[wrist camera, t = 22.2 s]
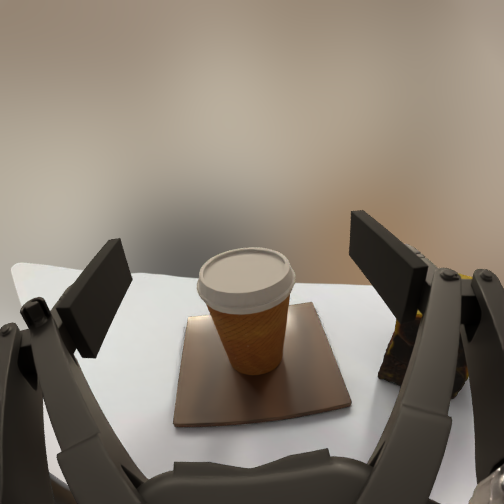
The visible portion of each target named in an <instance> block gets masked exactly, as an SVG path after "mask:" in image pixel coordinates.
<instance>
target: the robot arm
mask: <svg viewBox="0 0 504 504" xmlns="http://www.w3.org/2000/svg"><path fill="white" fill-rule="evenodd" d="M349 255H350V257H351V258H352V259H353V261H354V262H355V263H356V264H357V265H358V267H359V268H360V269H361V271H362V272H363V274H364V275H365V276H366V278H367V279H368V280H369V281H370V283H371V284H372V286H373V287H374V288H375V290H376V291H377V292H378V294H379V295H380V296H381V298H382V299H383V301H384V302H385V303H386V305H387V306H388V307H389V309H390V310H391V312H392V313H393V315H394V316H395V317H396V319H397V320H398V322H399V323H400V325H401V324H405V323H409V322H413V321H415V318H416V315H417V311H418V310H419V311H420V313H421V314H422V318H421V322H420V325H419V328H418V331H417V334H416V335H417V337H416V341H415V345H414V348H413V352H412V355H411V358H410V362H409V365H408V368H407V371H406V374H405V377H404V380H403V383H402V386H401V389H400V391H399V394H398V397H397V399H396V402H395V405H394V407H393V410H392V412H391V415H390V417H389V420H388V422H387V424H386V427H385V429H384V431H383V433H382V436H381V438H380V440H379V442H378V444H377V446H376V448H375V450H374V452H373V454H372V456H371V457H370V459H369V461H368V463H367V464H366V463H363V462H361V461H358V460H355V459H350V458H345V457H336V456H330V454H329V450H328V448H326V449H322V450H317V451H312V452H306V453H301V454H295V455H290V456H287V457H284V458H282V459H279V460H276V461H273V462H270V463H267V464H265V465H262V466H258V467H255V468H241V467H235V466H229V465H223V464H217V463H212V462H174V470H173V471H169V472H165V473H162V474H159V475H157V476H155V477H153V478H151V479H149V480H148V479H147V478H146V477H145V476H144V475H143V473H142V472H141V471H140V470H139V469H138V467H137V466H136V464H135V463H134V462H133V460H132V459H131V457H130V456H129V454H128V453H127V451H126V450H125V448H124V447H123V445H122V444H121V442H120V440H119V439H118V437H117V436H116V434H115V432H114V431H113V429H112V427H111V426H110V424H109V422H108V421H107V419H106V417H105V415H104V414H103V412H102V410H101V408H100V406H99V404H98V403H97V401H96V399H95V397H94V395H93V393H92V391H91V389H90V387H89V385H88V383H87V381H86V379H85V377H84V374H83V372H82V370H81V368H80V366H79V363H78V361H77V359H76V358H75V356H74V352H75V350H76V348H77V350H78V351H79V353H80V355H81V357H82V358H96V357H97V354H98V352H99V350H100V347H101V345H102V343H103V341H104V338H105V336H106V334H107V332H108V329H109V327H110V325H111V323H112V321H113V319H114V316H115V314H116V312H117V310H118V308H119V306H120V304H121V302H122V300H123V298H124V296H125V294H126V292H127V290H128V288H129V286H130V284H131V282H132V280H133V279H132V276H131V273H130V270H129V267H128V263H127V260H126V257H125V253H124V250H123V246H122V243H121V239H120V238H118V239H111V240H108V242H107V243H106V244H105V245H104V246H103V247H102V249H101V250H100V251H99V252H98V253H97V255H96V256H95V257H94V258H93V259H92V261H91V262H90V263H89V264H88V266H87V267H86V268H85V269H84V271H83V272H82V273H81V274H80V276H79V277H78V278H77V280H76V281H75V282H74V283H73V284H72V285H71V286H69V287H68V288H67V289H66V290H65V292H64V293H63V294H62V295H63V296H61V297H60V299H59V301H57V303H56V304H55V305H54V307H53V308H52V310H51V311H50V310H49V308H48V306H47V304H46V302H45V300H44V298H42V297H37V298H34V299H31V300H30V301H28V302H26V303H25V304H24V305H23V306H22V308H21V310H20V313H21V315H22V317H23V319H24V321H25V322H26V324H27V326H28V328H29V329H26V330H22V331H20V330H19V328H18V326H17V325H16V323H8V324H6V325H4V326H3V327H1V329H0V504H55V503H54V498H53V493H52V488H51V482H50V476H49V470H48V463H47V455H46V446H45V435H44V420H43V399H44V402H45V405H46V409H47V412H48V415H49V418H50V421H51V424H52V427H53V430H54V432H55V435H56V438H57V440H58V443H59V446H60V448H61V452H60V453H58V454H57V460H58V464H59V466H60V468H61V471H62V473H63V475H64V477H65V479H66V482H67V484H68V486H69V488H70V490H71V492H72V494H73V496H74V498H75V500H76V502H77V504H440V503H438V502H436V501H434V500H431V499H429V496H430V493H431V491H432V488H433V485H434V483H435V480H436V477H437V474H438V471H439V468H440V465H441V462H442V459H443V456H444V452H445V449H446V445H447V442H448V438H449V434H450V430H451V425H452V417H449V416H448V410H449V406H450V401H451V396H452V390H453V385H454V379H455V372H456V365H457V357H458V348H459V337H460V333H461V337H462V342H463V347H464V352H465V357H466V362H467V368H468V374H469V381H470V388H471V396H472V405H473V416H474V431H475V466H476V477H477V484H478V485H477V486H476V488H475V490H474V493H473V496H472V497H471V499H470V500H469V504H504V288H503V287H502V285H501V283H500V281H499V279H498V277H497V276H496V275H495V274H494V273H492V272H491V271H488V270H487V269H477V270H475V272H474V274H473V277H472V279H461V276H460V275H459V274H458V273H457V272H455V271H454V270H451V269H448V268H437V267H436V266H435V265H434V264H433V263H432V262H431V261H430V260H429V259H427V258H425V256H424V255H423V254H421V253H420V252H419V251H418V250H417V249H416V248H414V247H412V246H410V245H408V244H404V243H402V242H401V241H400V240H399V239H398V238H396V237H395V236H394V235H393V234H392V233H391V232H389V231H388V230H387V229H386V228H384V227H383V226H382V225H381V224H380V223H378V222H377V221H376V220H375V219H374V218H372V217H371V216H370V215H368V214H367V213H366V212H365V211H363V210H362V211H361V210H360V211H351V228H350V247H349Z"/></svg>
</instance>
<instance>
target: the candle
mask: <svg viewBox="0 0 504 504" xmlns="http://www.w3.org/2000/svg"><path fill="white" fill-rule="evenodd" d="M459 275H460V276H461V279H472V277H470V276H466V275H462V274H459ZM421 318H422V314H421V313H420V311H419V310H418V311H417V315H416V318H415V321H413V322H409V323H405V324H401V325H400V323H399V322H398V320H397V319H396V325H395V331H394V333H393V335H392V338H391V340H390V343H389V344H388V348H387V349H386V353H385V355H384V359H383V363H382V365H381V367H380V370H379V372H378V377H379V379H385V380H387V381H389V382H394V383H396V384H397V385H401V386H402V383H403V380H404V377H405V374H406V371H407V368H408V365H409V362H410V358H411V355H412V352H413V348H414V345H415V341H416V337H417V335H416V334H417V331H418V328H419V325H420V322H421ZM468 377H469V374H468V368H467V362H466V357H465V352H464V347H463V342H462V337H461V333H460V337H459V348H458V357H457V365H456V372H455V379H454V385H453V390H452V396H451V399H454V398H455V397H456V396H457V394H458V392H459V391H460V390H461V389H462V387H463V386H464V384H465V381H467V379H468Z"/></svg>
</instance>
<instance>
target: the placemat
mask: <svg viewBox="0 0 504 504" xmlns="http://www.w3.org/2000/svg"><path fill="white" fill-rule="evenodd" d="M215 327H216V326H215V325H214V322H213V320H212V317H211V315H205V316H194V317H188V321H187V327H186V334H185V340H184V346H183V353H182V359H181V366H180V373H179V380H178V387H177V395H176V403H175V411H174V419H173V424H174V426H175V427H211V426H229V425H241V424H252V423H261V422H269V421H277V420H284V419H290V418H296V417H302V416H308V415H313V414H318V413H323V412H328V411H332V410H337V409H341V408H345V407H349V406H351V403H352V402H351V399H350V396H349V394H348V391H347V388H346V386H345V383H344V380H343V378H342V375H341V373H340V370H339V367H338V365H337V362H336V360H335V357H334V355H333V352H332V350H331V347H330V345H329V342H328V340H327V337H326V335H325V332H324V330H323V327H322V325H321V322H320V320H319V317H318V315H317V313H316V310H315V308H314V305H313V303H312V302H309V303H302V304H295V305H289V307H288V316H287V324H286V332H285V340H284V347H283V355H282V360H281V362H280V363H279V365H278V366H277V367H276V368H275V369H273V370H272V371H270V372H268V373H265V374H260V375H247V374H243V373H240V372H238V371H237V370H235V369H234V368H233V367H232V365H231V363H230V361H229V359H228V356H227V354H226V352H225V349H224V346H223V344H222V342H221V340H220V337H219V334H218V332H217V330H216V328H215Z"/></svg>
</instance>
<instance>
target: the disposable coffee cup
mask: <svg viewBox="0 0 504 504" xmlns="http://www.w3.org/2000/svg"><path fill="white" fill-rule="evenodd" d="M294 284H295V273H294V271H293V269H292V268H291V267H290V264H289V261H288V259H287V258H286V257H285V256H284V255H283V254H281V253H279V252H277V251H274V250H271V249H266V248H252V247H250V248H241V249H235V250H230V251H227V252H223V253H221V254H218V255H216V256H214V257H213V258H211V259H209V260H208V261H207V262H206V263H205V264H204V265H203V266H202V268H201V269H200V273H199V280H198V282H197V291H198V294H199V296H200V297H201V299H202V300H203V301H204V302H205V303H206V305H207V307H208V310H209V312H210V315H211V317H212V320H213V322H214V325H215V326H216V327H215V328H216V330H217V332H218V334H219V337H220V340H221V342H222V344H223V346H224V349H225V352H226V354H227V356H228V359H229V361H230V363H231V365H232V367H233V368H234V369H235V370H237V371H238V372H240V373H243V374H247V375H260V374H265V373H268V372H270V371H272V370H273V369H275V368H276V367H277V366H278V365H279V363H280V362H281V360H282V355H283V347H284V340H285V332H286V324H287V316H288V307H289V299H290V293H291V291H292V288H293V286H294Z"/></svg>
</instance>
